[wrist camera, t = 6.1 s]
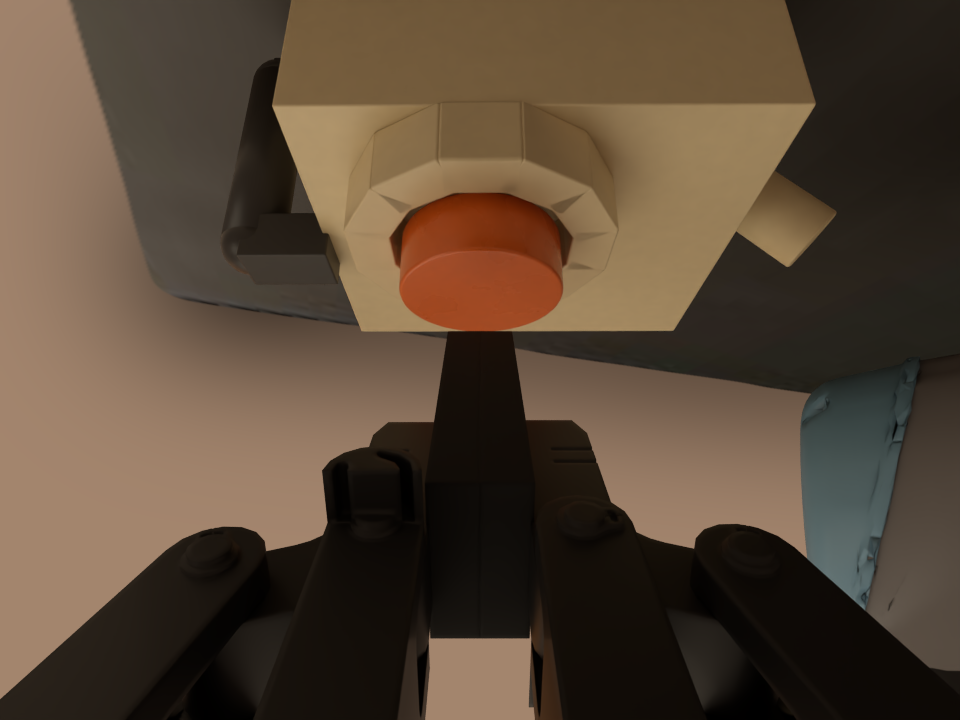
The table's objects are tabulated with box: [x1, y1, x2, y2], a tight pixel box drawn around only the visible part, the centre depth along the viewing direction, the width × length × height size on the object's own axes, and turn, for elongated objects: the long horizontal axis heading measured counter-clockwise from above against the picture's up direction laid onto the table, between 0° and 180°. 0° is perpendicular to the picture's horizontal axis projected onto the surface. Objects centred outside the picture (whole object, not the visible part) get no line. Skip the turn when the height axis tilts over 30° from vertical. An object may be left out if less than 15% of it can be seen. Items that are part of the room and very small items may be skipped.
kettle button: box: [399, 193, 563, 331], centre depth 17 cm, size 4×4×2 cm
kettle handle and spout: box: [220, 58, 837, 284], centre depth 22 cm, size 20×13×11 cm, turn 90°
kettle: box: [272, 0, 816, 331], centre depth 22 cm, size 13×12×12 cm
